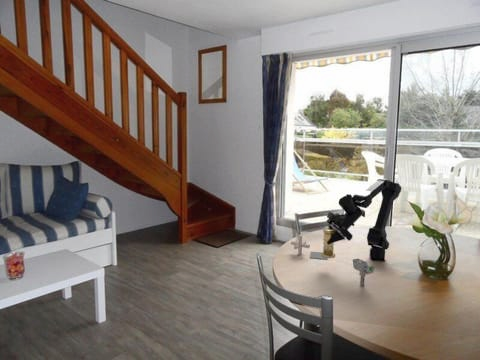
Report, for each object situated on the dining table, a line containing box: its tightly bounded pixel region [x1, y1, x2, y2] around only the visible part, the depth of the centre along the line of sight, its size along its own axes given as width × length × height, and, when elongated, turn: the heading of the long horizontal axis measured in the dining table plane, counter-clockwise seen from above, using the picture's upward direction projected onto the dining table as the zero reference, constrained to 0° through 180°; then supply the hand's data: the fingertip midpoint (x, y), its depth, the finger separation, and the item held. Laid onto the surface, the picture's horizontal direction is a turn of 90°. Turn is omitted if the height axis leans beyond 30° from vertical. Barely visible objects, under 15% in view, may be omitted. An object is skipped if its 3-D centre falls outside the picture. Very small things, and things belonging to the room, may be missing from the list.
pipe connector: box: [290, 234, 311, 256], centre depth 187 cm, size 10×10×10 cm
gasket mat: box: [309, 251, 329, 260], centre depth 185 cm, size 9×9×1 cm
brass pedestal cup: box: [321, 228, 336, 259], centre depth 166 cm, size 6×6×12 cm
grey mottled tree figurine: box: [352, 258, 375, 287], centre depth 150 cm, size 3×10×10 cm, turn 27°
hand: (325, 241), depth 166 cm, fingers closed on brass pedestal cup, 4 cm apart
